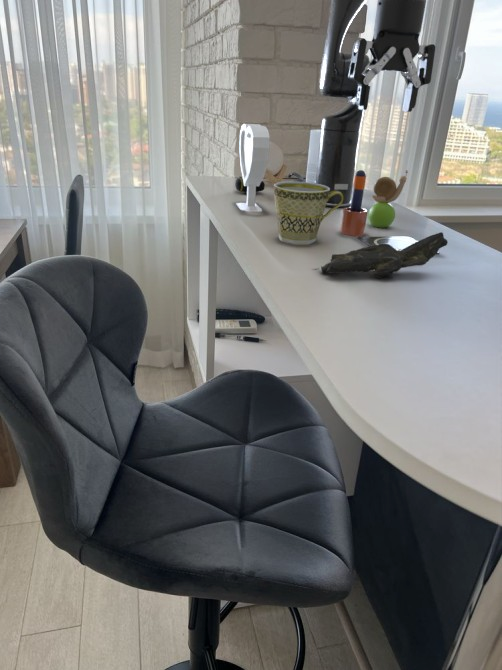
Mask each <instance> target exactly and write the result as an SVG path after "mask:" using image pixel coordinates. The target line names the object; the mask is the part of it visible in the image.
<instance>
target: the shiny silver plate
mask: <svg viewBox="0 0 502 670" xmlns="http://www.w3.org/2000/svg"><path fill="white" fill-rule="evenodd" d="M356 237H357V239H358V240H359V241H361V242H362V243H364V244H365V245H366V246H367V247H369V246H375V245H380V244H389V245H391V246H392V247H393V248H394V249H395V250H397V251H401V250H403V249H404V248H406V247H408V246H410V245H412V244H414V243H416V242H418V241H419V240H417V239H415V238H413V237H411V236H408V235H406V236H405V235H403V236H401V235H400V236H397V235H395V236H391V235H390V236H356ZM435 255H440V252H439V251H438V252H437V253H436V254H435Z"/></svg>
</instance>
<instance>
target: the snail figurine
mask: <svg viewBox="0 0 502 670" xmlns="http://www.w3.org/2000/svg"><path fill="white" fill-rule="evenodd" d="M404 172H405V175H401V176H400V177H399V181H398V184H396V181H395V180H394V179H393V178H391V177H388V176H382V177H380V178H378V179H376V181H375V182H374V183H373V192H374V194H375V195H372V196H371V198H372V199H373V200H374V201H375V202H376V203H374V204H372V206H371V207H370V209H369V210H368V213H367V218H368V221H369V223H370V224H371V225H372V226H373V227H374V228H380V229H386V228H388V227H389V226H391V225H392V224H393V222H394V221H395V219H396V211H395V208H394V206H393V205H392V204H391V203H392V202H394V201H396V200H397V199H398V198H399V197H400V195H401V193H402V191H403V189H404V187H405V184H406V182H407V179H408V178H407V176H408V175H407V174H409V171H408V169H406V170H404Z"/></svg>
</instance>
